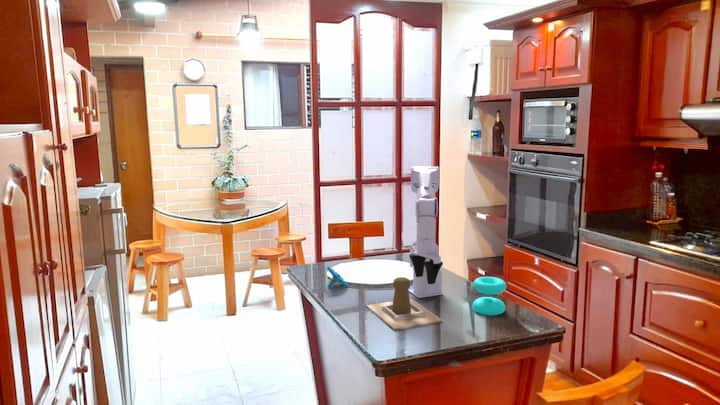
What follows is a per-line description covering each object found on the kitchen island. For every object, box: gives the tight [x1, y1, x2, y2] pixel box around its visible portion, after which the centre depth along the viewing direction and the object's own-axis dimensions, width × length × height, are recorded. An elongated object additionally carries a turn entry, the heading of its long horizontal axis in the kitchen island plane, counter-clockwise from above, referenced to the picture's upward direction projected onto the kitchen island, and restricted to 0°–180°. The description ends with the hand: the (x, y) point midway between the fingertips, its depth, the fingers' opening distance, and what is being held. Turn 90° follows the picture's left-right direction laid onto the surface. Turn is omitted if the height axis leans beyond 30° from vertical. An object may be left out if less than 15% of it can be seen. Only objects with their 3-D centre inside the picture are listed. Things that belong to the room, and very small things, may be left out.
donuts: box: [472, 276, 507, 317], centre depth 163 cm, size 10×10×10 cm
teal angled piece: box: [326, 266, 349, 289], centre depth 186 cm, size 11×6×10 cm
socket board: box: [366, 297, 444, 331], centre depth 161 cm, size 16×20×2 cm
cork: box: [392, 276, 411, 315], centre depth 160 cm, size 6×6×11 cm
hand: (425, 280), depth 161 cm, fingers open, 7 cm apart
